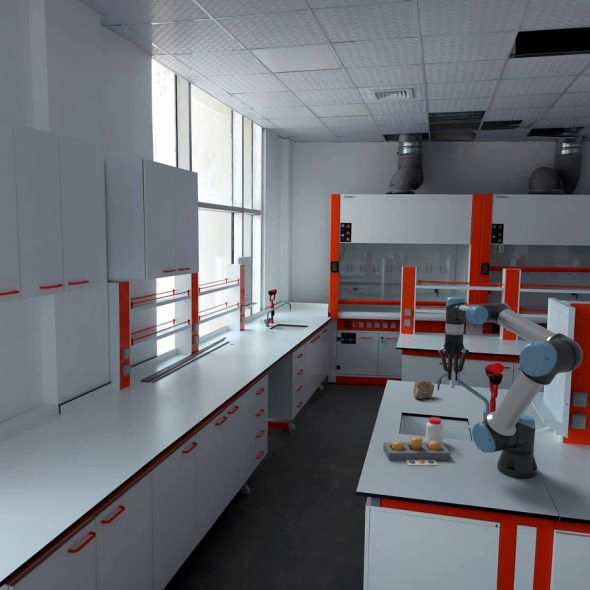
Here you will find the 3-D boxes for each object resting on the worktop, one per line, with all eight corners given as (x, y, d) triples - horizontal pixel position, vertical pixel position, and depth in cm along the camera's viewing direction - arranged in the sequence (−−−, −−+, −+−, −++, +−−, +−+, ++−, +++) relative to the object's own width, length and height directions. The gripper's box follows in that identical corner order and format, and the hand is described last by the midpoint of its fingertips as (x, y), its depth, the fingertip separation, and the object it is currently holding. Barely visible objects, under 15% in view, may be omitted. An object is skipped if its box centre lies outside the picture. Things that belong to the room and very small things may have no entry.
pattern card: (434, 460, 234) (434, 459, 234) (437, 465, 229) (437, 464, 229) (405, 460, 233) (405, 459, 233) (408, 465, 228) (408, 464, 228)
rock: (410, 384, 332) (415, 379, 323) (431, 385, 332) (436, 380, 323) (411, 402, 327) (416, 397, 318) (432, 403, 328) (437, 399, 319)
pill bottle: (430, 437, 260) (431, 415, 259) (445, 441, 255) (446, 418, 254) (422, 442, 254) (423, 419, 253) (438, 446, 249) (439, 423, 248)
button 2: (438, 450, 243) (438, 440, 243) (441, 454, 238) (442, 444, 238) (426, 450, 243) (427, 440, 243) (430, 455, 238) (430, 444, 238)
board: (441, 448, 247) (441, 442, 247) (449, 459, 235) (450, 452, 235) (383, 449, 246) (383, 442, 246) (388, 459, 234) (388, 453, 234)
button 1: (402, 450, 243) (402, 440, 242) (404, 455, 238) (404, 444, 237) (390, 450, 243) (390, 440, 242) (393, 455, 238) (393, 444, 237)
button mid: (420, 446, 243) (420, 436, 242) (423, 450, 238) (423, 440, 237) (408, 446, 243) (409, 436, 242) (411, 450, 238) (412, 440, 237)
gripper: (466, 331, 240) (464, 385, 243) (436, 331, 240) (434, 385, 242) (472, 334, 233) (470, 389, 235) (441, 334, 232) (439, 389, 235)
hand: (452, 387), depth 239 cm, fingers closed
